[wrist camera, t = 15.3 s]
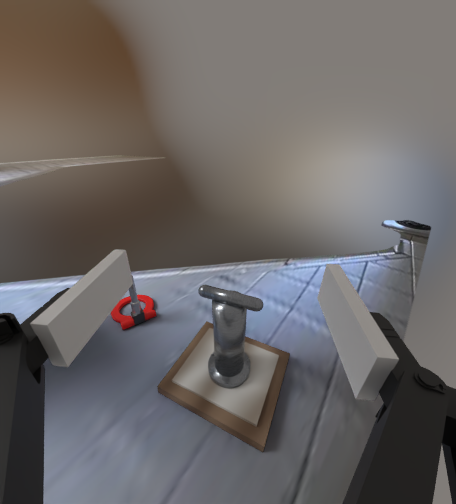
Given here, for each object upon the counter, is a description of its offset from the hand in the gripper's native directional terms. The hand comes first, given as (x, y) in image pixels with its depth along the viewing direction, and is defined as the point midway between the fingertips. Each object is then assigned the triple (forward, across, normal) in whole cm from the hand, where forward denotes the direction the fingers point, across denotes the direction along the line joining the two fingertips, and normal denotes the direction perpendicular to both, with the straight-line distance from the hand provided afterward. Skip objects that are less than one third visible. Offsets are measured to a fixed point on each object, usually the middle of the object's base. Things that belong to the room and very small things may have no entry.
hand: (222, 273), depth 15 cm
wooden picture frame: (+10, 0, -26) cm, 28 cm away
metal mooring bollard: (+10, 0, -24) cm, 26 cm away
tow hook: (+22, -21, -26) cm, 40 cm away
